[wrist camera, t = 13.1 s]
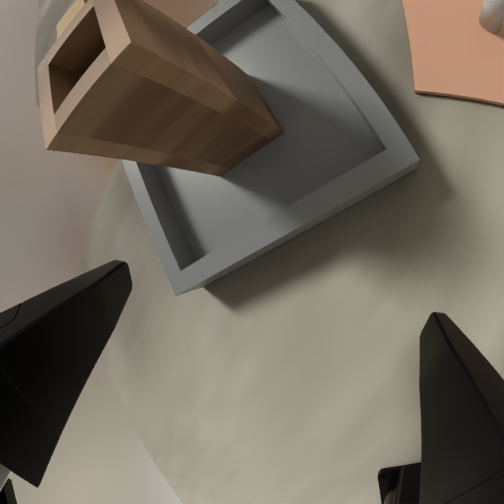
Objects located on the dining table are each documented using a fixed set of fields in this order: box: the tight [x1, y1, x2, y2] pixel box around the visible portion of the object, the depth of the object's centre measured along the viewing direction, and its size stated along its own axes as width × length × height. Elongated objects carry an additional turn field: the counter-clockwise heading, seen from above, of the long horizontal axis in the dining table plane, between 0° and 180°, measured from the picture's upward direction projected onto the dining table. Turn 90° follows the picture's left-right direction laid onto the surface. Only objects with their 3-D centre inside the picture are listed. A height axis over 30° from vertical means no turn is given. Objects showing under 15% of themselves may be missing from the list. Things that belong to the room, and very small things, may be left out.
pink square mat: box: [402, 0, 504, 106], centre depth 9 cm, size 12×12×5 cm
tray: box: [122, 0, 420, 296], centre depth 18 cm, size 16×16×3 cm
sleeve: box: [38, 0, 285, 177], centre depth 14 cm, size 7×5×12 cm
